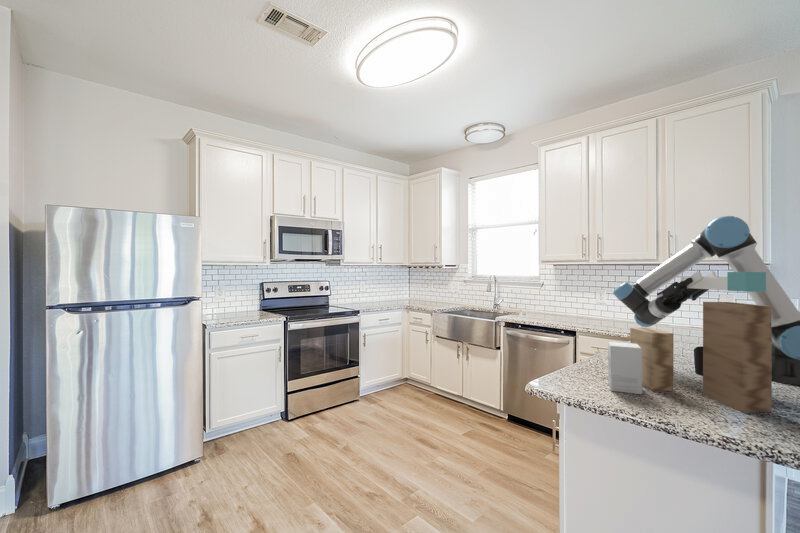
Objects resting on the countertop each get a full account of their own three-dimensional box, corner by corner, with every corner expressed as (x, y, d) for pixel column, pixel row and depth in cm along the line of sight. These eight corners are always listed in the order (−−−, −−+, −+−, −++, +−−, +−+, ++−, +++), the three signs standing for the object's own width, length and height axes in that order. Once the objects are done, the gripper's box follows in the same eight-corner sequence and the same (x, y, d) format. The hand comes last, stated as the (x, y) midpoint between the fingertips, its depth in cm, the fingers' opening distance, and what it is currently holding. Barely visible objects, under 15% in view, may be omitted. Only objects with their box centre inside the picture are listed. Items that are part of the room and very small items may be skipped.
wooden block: (649, 380, 134) (649, 327, 134) (673, 390, 122) (673, 333, 122) (630, 379, 134) (630, 327, 134) (652, 390, 122) (652, 333, 122)
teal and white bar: (678, 287, 130) (678, 272, 130) (694, 287, 130) (694, 272, 130) (745, 291, 104) (745, 271, 104) (765, 291, 104) (765, 272, 104)
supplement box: (638, 387, 125) (638, 343, 125) (642, 395, 117) (642, 348, 117) (607, 383, 129) (607, 340, 129) (610, 390, 121) (610, 345, 121)
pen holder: (687, 371, 146) (687, 346, 147) (710, 371, 147) (710, 346, 147) (708, 378, 137) (708, 351, 137) (732, 378, 137) (732, 351, 138)
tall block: (728, 395, 117) (728, 302, 118) (771, 412, 103) (771, 306, 104) (703, 395, 118) (703, 301, 118) (742, 411, 104) (742, 305, 104)
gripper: (691, 313, 139) (739, 285, 119) (645, 313, 139) (685, 284, 119) (683, 296, 143) (728, 265, 123) (639, 295, 143) (677, 264, 123)
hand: (707, 274), depth 121 cm, fingers closed on teal and white bar, 4 cm apart
